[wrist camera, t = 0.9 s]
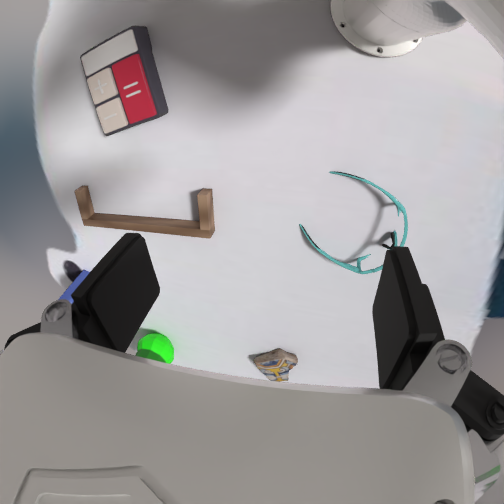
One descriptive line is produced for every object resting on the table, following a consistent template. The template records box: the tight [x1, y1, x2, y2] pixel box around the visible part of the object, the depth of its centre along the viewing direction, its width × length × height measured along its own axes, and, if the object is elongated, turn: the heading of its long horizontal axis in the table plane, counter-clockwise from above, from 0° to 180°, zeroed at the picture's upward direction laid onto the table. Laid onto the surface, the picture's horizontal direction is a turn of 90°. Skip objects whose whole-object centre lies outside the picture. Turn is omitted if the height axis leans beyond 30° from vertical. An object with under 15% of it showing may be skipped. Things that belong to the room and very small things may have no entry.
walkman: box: [58, 270, 90, 304], centre depth 60 cm, size 8×3×12 cm, turn 167°
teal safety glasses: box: [299, 172, 408, 274], centre depth 42 cm, size 14×15×5 cm
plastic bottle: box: [135, 333, 174, 364], centre depth 62 cm, size 10×10×25 cm
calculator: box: [80, 26, 168, 136], centre depth 35 cm, size 11×4×15 cm
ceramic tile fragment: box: [254, 349, 298, 382], centre depth 66 cm, size 12×3×10 cm
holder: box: [75, 186, 215, 238], centre depth 48 cm, size 8×27×2 cm, turn 90°
